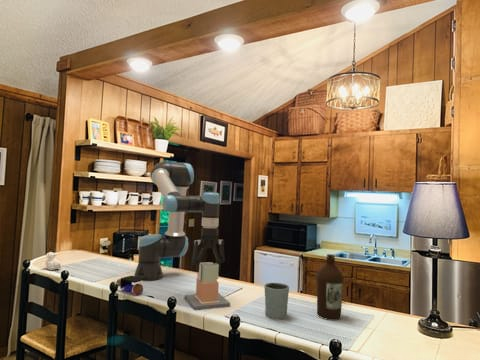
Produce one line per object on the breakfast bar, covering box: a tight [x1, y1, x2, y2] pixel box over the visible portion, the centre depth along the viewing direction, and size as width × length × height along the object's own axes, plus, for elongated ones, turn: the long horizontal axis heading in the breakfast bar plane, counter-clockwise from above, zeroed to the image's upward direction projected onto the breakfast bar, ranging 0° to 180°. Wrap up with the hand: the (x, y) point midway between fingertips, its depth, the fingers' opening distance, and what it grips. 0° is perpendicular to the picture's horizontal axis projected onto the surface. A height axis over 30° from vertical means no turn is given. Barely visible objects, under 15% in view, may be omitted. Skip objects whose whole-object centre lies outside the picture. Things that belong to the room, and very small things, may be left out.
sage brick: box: [200, 261, 218, 283], centre depth 152 cm, size 8×6×7 cm
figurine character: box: [116, 275, 146, 296], centre depth 162 cm, size 7×8×15 cm
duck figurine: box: [45, 251, 62, 271], centre depth 198 cm, size 12×8×11 cm
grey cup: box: [264, 282, 290, 320], centre depth 139 cm, size 10×10×12 cm
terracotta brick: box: [195, 278, 220, 303], centre depth 152 cm, size 10×7×8 cm
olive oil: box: [316, 253, 344, 320], centre depth 142 cm, size 11×11×25 cm
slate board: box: [184, 292, 231, 311], centre depth 152 cm, size 16×16×2 cm
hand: (207, 278), depth 152 cm, fingers open, 7 cm apart
